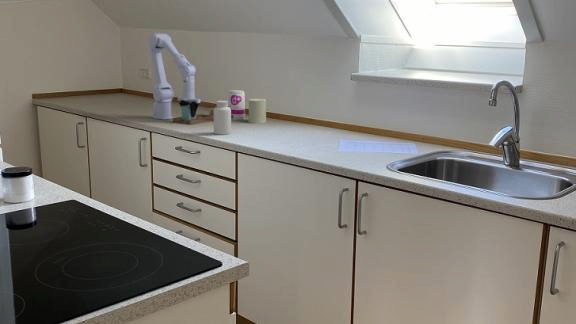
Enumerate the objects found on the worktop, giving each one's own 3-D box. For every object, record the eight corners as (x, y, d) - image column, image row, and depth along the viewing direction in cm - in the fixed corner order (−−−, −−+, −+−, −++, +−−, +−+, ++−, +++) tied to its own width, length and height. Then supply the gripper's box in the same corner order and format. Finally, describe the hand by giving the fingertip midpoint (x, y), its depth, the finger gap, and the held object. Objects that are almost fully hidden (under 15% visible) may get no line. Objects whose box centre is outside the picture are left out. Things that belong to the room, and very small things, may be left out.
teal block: (182, 119, 312) (181, 106, 310) (189, 118, 316) (188, 105, 314) (189, 120, 309) (188, 107, 307) (196, 119, 313) (195, 106, 311)
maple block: (209, 108, 326) (218, 107, 332) (209, 118, 328) (218, 116, 333) (215, 109, 323) (225, 108, 329) (215, 119, 324) (225, 117, 330)
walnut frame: (172, 121, 312) (172, 118, 312) (200, 117, 328) (200, 113, 327) (190, 124, 305) (190, 120, 304) (218, 120, 320) (218, 116, 320)
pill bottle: (217, 135, 277) (217, 102, 273) (211, 132, 284) (210, 100, 280) (233, 134, 280) (233, 101, 277) (227, 131, 287) (226, 99, 284)
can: (257, 123, 310) (257, 100, 307) (244, 121, 316) (244, 98, 313) (269, 121, 316) (270, 98, 314) (257, 119, 322) (257, 97, 320)
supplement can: (242, 120, 320) (242, 91, 316) (227, 119, 321) (227, 91, 318) (246, 118, 327) (246, 90, 324) (231, 117, 329) (231, 89, 326)
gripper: (173, 88, 310) (173, 115, 313) (193, 91, 302) (193, 118, 305) (183, 87, 316) (184, 113, 319) (203, 89, 307) (203, 116, 310)
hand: (189, 116), depth 312 cm, fingers closed on teal block, 5 cm apart
